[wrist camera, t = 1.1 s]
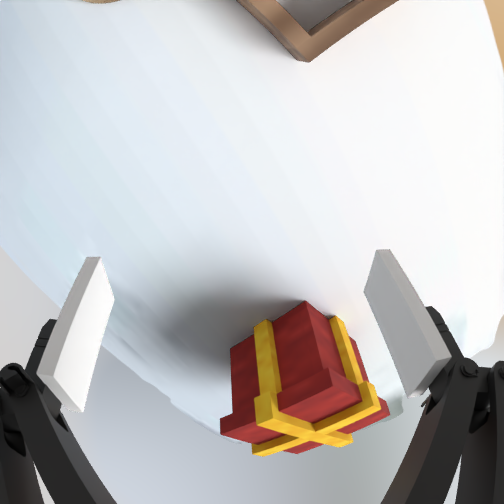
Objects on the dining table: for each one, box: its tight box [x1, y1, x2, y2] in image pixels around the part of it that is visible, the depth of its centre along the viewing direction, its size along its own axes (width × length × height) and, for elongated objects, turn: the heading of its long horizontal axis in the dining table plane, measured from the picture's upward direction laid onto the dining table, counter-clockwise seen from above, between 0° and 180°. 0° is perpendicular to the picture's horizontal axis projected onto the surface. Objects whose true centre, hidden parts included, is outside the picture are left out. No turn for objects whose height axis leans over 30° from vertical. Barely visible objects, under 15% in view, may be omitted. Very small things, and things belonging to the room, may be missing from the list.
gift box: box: [220, 301, 390, 456], centre depth 55 cm, size 25×25×20 cm
